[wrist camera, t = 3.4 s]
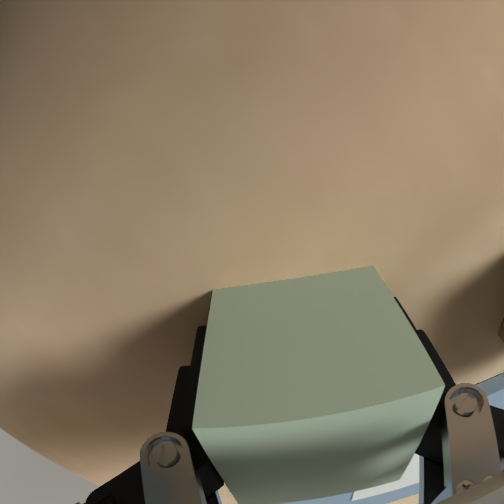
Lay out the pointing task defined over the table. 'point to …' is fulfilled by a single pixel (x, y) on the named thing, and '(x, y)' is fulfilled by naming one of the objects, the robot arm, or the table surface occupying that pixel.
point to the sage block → (312, 387)
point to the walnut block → (501, 331)
